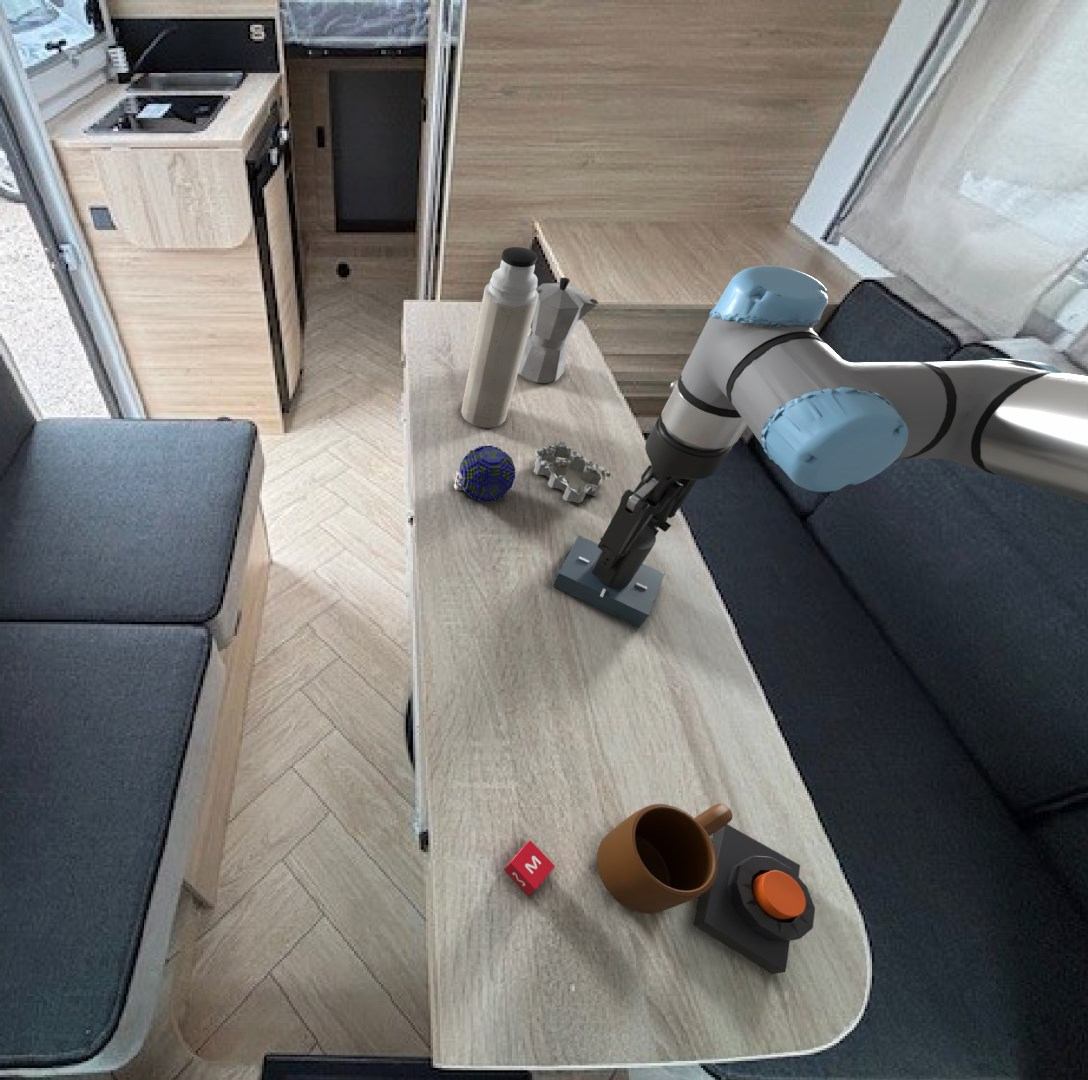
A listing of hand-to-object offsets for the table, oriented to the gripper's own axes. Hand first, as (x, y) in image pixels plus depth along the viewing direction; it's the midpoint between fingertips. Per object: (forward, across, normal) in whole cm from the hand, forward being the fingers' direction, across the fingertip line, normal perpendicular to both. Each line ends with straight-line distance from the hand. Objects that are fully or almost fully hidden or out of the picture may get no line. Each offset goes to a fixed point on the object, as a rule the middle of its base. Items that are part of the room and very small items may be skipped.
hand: (615, 567), depth 77 cm
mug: (+4, +24, +24) cm, 34 cm away
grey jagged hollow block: (+4, -12, -17) cm, 21 cm away
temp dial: (+1, 0, 0) cm, 1 cm away
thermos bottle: (+4, -13, -37) cm, 39 cm away
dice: (+4, +34, +17) cm, 39 cm away
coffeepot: (+4, -31, -41) cm, 51 cm away
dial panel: (+4, 0, 0) cm, 4 cm away
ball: (+4, +1, -23) cm, 24 cm away
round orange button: (+1, +19, +33) cm, 38 cm away
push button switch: (+4, +19, +32) cm, 37 cm away
